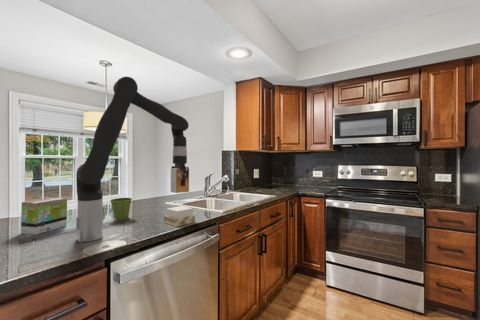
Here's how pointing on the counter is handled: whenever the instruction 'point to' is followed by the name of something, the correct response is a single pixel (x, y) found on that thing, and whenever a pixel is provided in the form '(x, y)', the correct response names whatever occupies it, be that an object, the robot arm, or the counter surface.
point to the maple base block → (179, 220)
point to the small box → (178, 181)
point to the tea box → (43, 215)
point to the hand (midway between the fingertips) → (179, 185)
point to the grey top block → (179, 212)
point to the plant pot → (121, 207)
